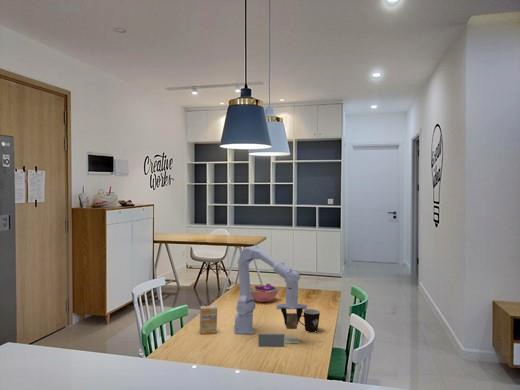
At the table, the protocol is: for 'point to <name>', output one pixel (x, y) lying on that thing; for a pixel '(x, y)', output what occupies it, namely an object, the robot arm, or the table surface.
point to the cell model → (264, 293)
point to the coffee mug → (311, 319)
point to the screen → (271, 340)
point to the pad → (291, 340)
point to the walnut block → (291, 321)
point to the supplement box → (208, 319)
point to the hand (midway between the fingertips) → (291, 323)
